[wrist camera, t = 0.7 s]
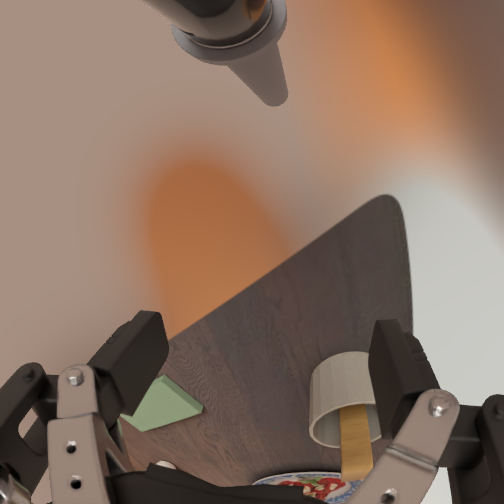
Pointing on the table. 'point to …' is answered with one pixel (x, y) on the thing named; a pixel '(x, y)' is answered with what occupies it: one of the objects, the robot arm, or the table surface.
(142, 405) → the green rectangular block
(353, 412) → the stick
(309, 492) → the ceramic plate
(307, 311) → the table surface
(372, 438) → the tin
